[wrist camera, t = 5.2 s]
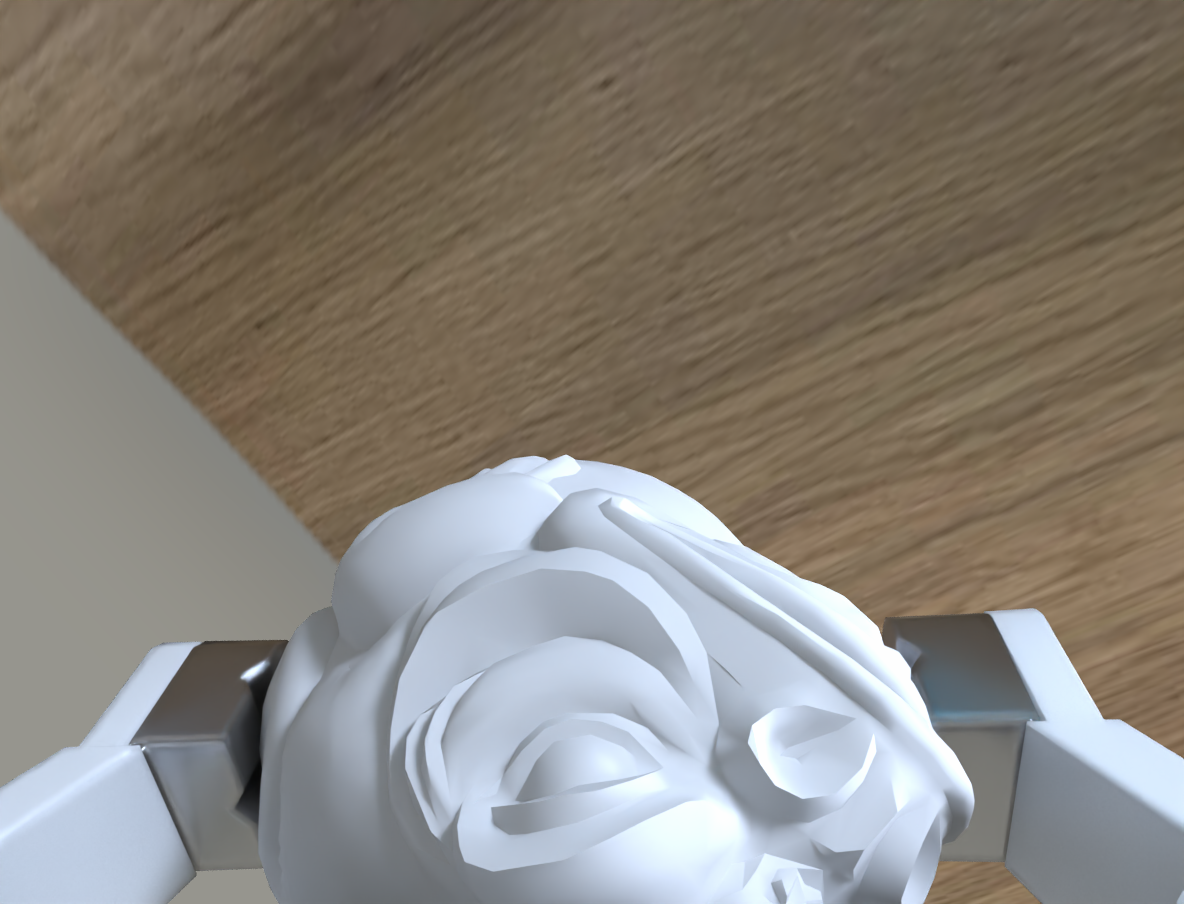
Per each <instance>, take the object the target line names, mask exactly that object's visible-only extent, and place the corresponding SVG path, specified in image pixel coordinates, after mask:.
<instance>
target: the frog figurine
mask: <svg viewBox="0 0 1184 904" xmlns="http://www.w3.org/2000/svg"><path fill="white" fill-rule="evenodd" d="M331 603H332V606H331V607H327V608H324V609H322V610H319V611H317V612H315V613H312V614H311V616H309V617H308V618H307V619H306V620H305V621H304V622H303V623H302V624H301V625H300V626H299V627H298V628H297V629H296V631H295V632H294V634H293V636H292V637H291V639H290V641H289V642H288V644H287V646H286V648H285V651H284V653H283V655H282V657H281V660H280V662H279V664H278V666H277V669H276V671H275V673H274V675H273V678H272V680H271V682H270V685H269V687H268V691H267V694H266V697H265V701H264V704H263V710H262V723H261V735H260V747H259V752H260V759H261V765H262V776H261V789H260V808H259V826H258V854H259V857H260V860H261V863H262V866H263V869H264V872H265V875H266V878H267V881H268V883H269V886H270V889H271V890H272V892H273V894H274V896H275V897H276V899H277V901H278V903H279V904H923V903H924V901H925V898H926V896H927V894H928V891H929V889H930V887H931V884H932V882H933V880H934V877H935V873H936V869H937V865H938V861H939V857H940V853H941V845H943V844H946V843H950V842H953V841H955V840H956V839H957V837H958V836H959V835H960V834H961V833H962V832H963V831H964V830H965V829H966V828H967V827H968V825H969V822H970V819H971V816H972V813H973V810H974V802H975V800H974V794H973V789H972V784H971V782H970V780H969V778H968V777H967V775H966V773H965V771H964V769H963V768H962V766H961V764H960V762H959V761H958V759H957V757H956V755H955V753H954V752H953V751H952V750H951V749H950V748H949V747H948V746H947V745H946V744H945V743H944V741H943V740H942V739H941V738H940V737H939V736H938V735H937V734H936V732H935V731H934V730H933V728H932V725H931V722H930V719H929V715H928V712H927V709H926V706H925V704H924V702H923V700H922V698H921V696H920V694H919V692H918V690H917V689H916V687H915V685H914V683H913V682H912V681H911V680H910V677H911V668H910V667H909V666H908V664H907V663H906V661H905V660H904V658H903V657H902V656H901V654H900V653H899V652H898V651H896V650H894V649H892V648H889V647H886V646H884V644H883V641H882V638H881V635H880V632H879V629H878V627H877V626H876V625H875V624H874V623H873V622H872V621H871V620H870V619H869V618H868V617H866V616H865V615H864V614H863V613H862V612H861V611H860V610H859V609H858V608H856V607H855V606H854V605H853V604H852V603H851V602H850V601H849V600H848V599H846V598H845V597H844V596H843V595H840V594H838V593H836V592H834V591H832V590H830V589H828V588H826V587H824V586H822V585H820V584H817V583H814V582H810V581H807V580H804V579H801V578H799V577H797V576H796V575H794V574H793V573H791V572H790V571H789V570H787V569H785V568H783V567H782V566H780V565H778V564H776V563H774V562H773V561H771V560H769V559H767V558H765V557H764V556H762V555H760V554H758V553H756V552H755V551H753V550H751V549H749V548H747V547H745V546H743V545H742V544H741V542H740V541H739V540H738V539H737V538H736V537H735V536H734V535H733V534H732V533H731V532H730V531H729V530H728V529H727V528H726V527H725V526H724V524H723V523H722V522H721V521H720V520H719V519H718V518H717V517H715V516H714V515H713V514H712V513H711V512H709V511H708V510H707V509H706V508H704V507H703V506H702V505H701V504H699V503H698V502H697V501H695V500H694V499H692V498H690V497H689V496H687V495H686V494H684V493H682V492H681V491H679V490H677V489H675V488H673V487H672V486H670V485H668V484H666V483H664V482H662V481H660V480H658V479H656V478H654V477H652V476H649V475H646V474H643V473H640V472H637V471H634V470H631V469H628V468H625V467H621V466H616V465H611V464H606V463H601V462H596V461H584V460H574V458H572V457H570V456H568V455H564V456H561V457H558V458H556V459H553V460H550V461H548V460H547V459H545V458H542V457H537V456H529V457H521V458H514V459H510V460H508V461H506V462H505V463H503V464H501V465H499V466H497V467H496V468H494V469H484V470H483V471H481V472H479V473H478V474H476V475H475V476H473V477H472V478H470V479H468V480H465V481H461V482H458V483H455V484H451V485H448V486H445V487H443V488H441V489H438V490H436V491H434V492H432V493H429V494H427V495H425V496H422V497H420V498H418V499H416V500H413V501H411V502H409V503H407V504H404V505H401V506H399V507H396V508H393V509H391V510H389V511H388V512H386V513H384V514H383V515H381V516H380V517H378V518H376V519H375V520H373V521H372V522H371V523H370V524H369V525H368V526H367V527H366V528H365V529H364V530H363V531H361V532H360V533H359V535H358V536H357V538H356V539H355V540H354V542H353V543H352V545H351V546H350V547H349V549H348V550H347V552H346V553H345V554H344V556H343V557H342V559H341V561H340V563H339V566H338V569H337V571H336V574H335V581H334V587H333V593H332V600H331Z"/></svg>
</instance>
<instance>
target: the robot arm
mask: <svg viewBox="0 0 1184 904" xmlns="http://www.w3.org/2000/svg"><path fill="white" fill-rule="evenodd" d="M882 641H883V644H884V646H886V647H889V648H892V649H894V650H896V651H898V652H899V653H900V654H901V656H902V657H903V658H904V660H905V661H906V663H907V664H908V666H909V667H910V668H911V677H910V680H911V681H912V682H913V683H914V685H915V687H916V689H917V690H918V692H919V694H920V696H921V698H922V700H923V702H924V704H925V706H926V709H927V712H928V715H929V719H930V722H931V725H932V728H933V730H934V731H935V732H936V734H937V735H938V736H939V737H940V738H941V739H942V740H943V741H944V743H945V744H946V745H947V746H948V747H949V748H950V749H951V750H952V751H953V752H954V753H955V755H956V757H957V759H958V761H959V762H960V764H961V766H962V768H963V769H964V771H965V773H966V775H967V777H968V778H969V780H970V782H971V784H972V789H973V794H974V800H975V802H974V810H973V813H972V816H971V819H970V822H969V825H968V827H967V828H966V829H965V830H964V831H963V832H962V833H961V834H960V835H959V836H958V837H957V839H956V840H955V841H953V842H950V843H946V844H943V845H941V853H940V857H939V861H968V862H1005V867H1006V868H1007V869H1008V870H1009V871H1010V872H1011V873H1012V874H1013V875H1014V876H1015V877H1016V878H1017V879H1018V880H1019V881H1020V882H1021V883H1022V884H1023V885H1024V886H1025V887H1026V888H1027V889H1028V890H1029V891H1030V892H1031V893H1032V894H1033V895H1034V896H1035V897H1036V898H1037V899H1038V900H1039V901H1040V902H1041V903H1042V904H1184V759H1183V758H1182V757H1180V756H1178V755H1177V754H1175V753H1174V752H1172V751H1170V750H1169V749H1167V748H1165V747H1164V746H1162V745H1160V744H1159V743H1157V742H1156V741H1154V740H1152V739H1151V738H1149V737H1147V736H1146V735H1144V734H1143V733H1141V732H1139V731H1138V730H1136V729H1134V728H1133V727H1131V726H1130V725H1128V724H1126V723H1125V722H1123V721H1121V720H1119V719H1118V720H1104V719H1103V717H1102V716H1101V714H1100V712H1099V710H1098V709H1097V707H1096V705H1095V703H1094V702H1093V700H1092V698H1091V697H1090V695H1089V693H1088V691H1087V690H1086V688H1085V686H1084V684H1083V683H1082V681H1081V679H1080V678H1079V676H1078V674H1077V672H1076V671H1075V669H1074V667H1073V665H1072V664H1071V662H1070V660H1069V659H1068V657H1067V655H1066V653H1065V652H1064V650H1063V648H1062V646H1061V645H1060V643H1059V641H1058V639H1057V638H1056V636H1055V634H1054V633H1053V631H1052V629H1051V627H1050V626H1049V624H1048V622H1047V620H1046V619H1045V617H1044V615H1043V614H1042V613H1041V612H1039V611H1038V610H1036V609H1035V608H1033V609H1017V610H1001V611H985V612H984V613H972V614H950V615H927V616H904V617H885V621H884V626H883V632H882ZM288 642H289V641H288V640H254V641H253V640H252V641H205V642H173V643H162V644H160V645H158V646H155V647H153V648H151V649H150V651H149V652H148V653H147V655H146V656H145V658H144V659H143V660H142V662H141V663H140V664H139V666H138V667H137V669H136V670H135V671H134V672H133V674H132V675H131V676H130V678H129V679H128V680H127V682H126V683H125V685H124V686H123V687H122V689H121V690H120V691H119V693H118V694H117V695H116V697H115V698H114V699H113V701H112V702H111V703H110V705H109V706H108V708H107V709H106V710H105V712H104V713H103V714H102V716H101V717H100V718H99V720H98V721H97V722H96V724H95V725H94V727H93V728H92V729H91V731H90V732H89V733H88V735H87V736H86V737H85V739H84V740H83V742H82V743H81V744H80V745H79V747H65V748H63V749H62V750H60V751H58V752H57V753H55V754H53V755H52V756H50V757H49V758H47V759H45V760H44V761H42V762H40V763H39V764H37V765H36V766H34V767H32V768H31V769H29V770H28V771H26V772H24V773H23V774H21V775H19V776H18V777H16V778H15V779H13V780H12V781H10V782H8V783H7V784H5V785H3V786H2V787H0V904H168V903H169V902H170V901H171V900H172V899H173V898H174V897H175V896H176V895H177V894H178V893H179V892H180V891H181V890H182V889H183V888H184V887H185V886H186V885H187V884H188V883H189V882H190V881H191V880H192V879H193V878H194V877H196V871H208V870H233V869H258V868H263V866H262V863H261V860H260V857H259V854H258V826H259V808H260V789H261V776H262V765H261V759H260V752H259V747H260V735H261V723H262V710H263V704H264V701H265V697H266V694H267V691H268V687H269V685H270V682H271V680H272V678H273V675H274V673H275V671H276V669H277V666H278V664H279V662H280V660H281V657H282V655H283V653H284V651H285V648H286V646H287V644H288Z"/></svg>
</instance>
